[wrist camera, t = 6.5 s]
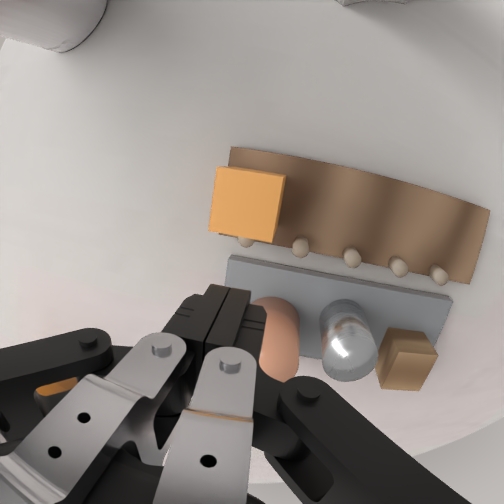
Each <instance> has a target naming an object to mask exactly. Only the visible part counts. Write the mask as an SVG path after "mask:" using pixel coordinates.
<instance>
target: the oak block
mask: <svg viewBox="0 0 504 504" xmlns="http://www.w3.org/2000/svg"><path fill="white" fill-rule="evenodd" d="M437 357H438V354H437V352H436V351H435V349H434V348H433V346H432V344H431V343H430V341H429V340H428V338H427V336H426V335H425V333H424V332H420V331H413V330H405V329H398V328H391V327H388V328H387V330H386V333H385V335H384V338H383V340H382V343H381V345H380V347H379V350H378V361H377V364H376V365H375V370H376V373H377V376H378V380H379V383H380V386H381V389H391V390H408V391H419V390H420V389H421V387H422V385H423V383H424V382H425V380H426V378H427V376H428V374H429V372H430V371H431V369H432V367H433V365H434V363H435V361H436V359H437Z"/></svg>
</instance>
